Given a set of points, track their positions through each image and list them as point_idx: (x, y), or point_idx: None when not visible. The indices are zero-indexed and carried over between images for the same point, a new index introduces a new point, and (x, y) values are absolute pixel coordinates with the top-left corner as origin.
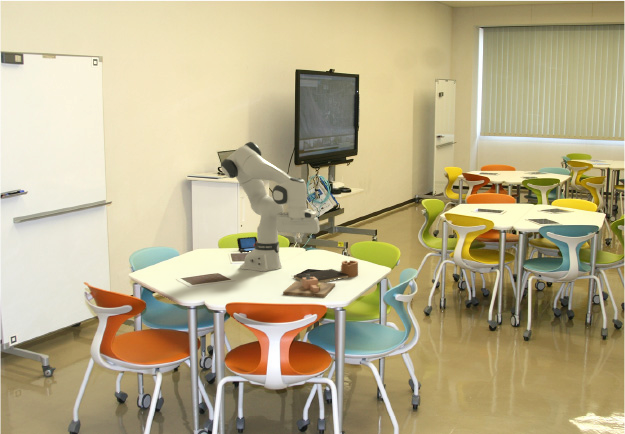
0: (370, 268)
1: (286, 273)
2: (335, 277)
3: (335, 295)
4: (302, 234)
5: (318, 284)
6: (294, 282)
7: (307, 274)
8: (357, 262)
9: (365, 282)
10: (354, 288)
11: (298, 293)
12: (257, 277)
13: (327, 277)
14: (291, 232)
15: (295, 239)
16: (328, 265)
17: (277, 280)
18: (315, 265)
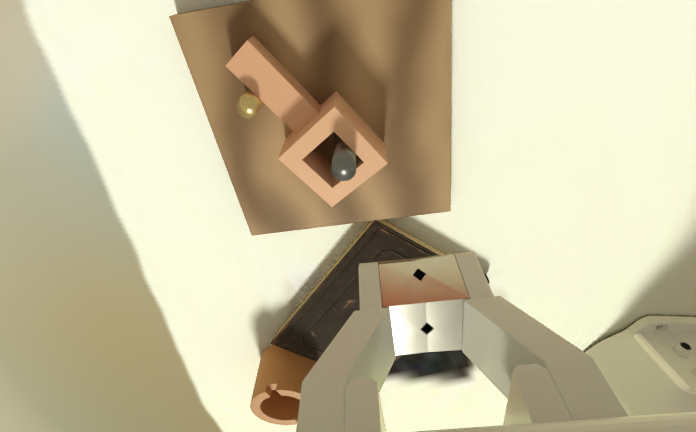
0: (269, 422)
1: (536, 319)
2: (301, 306)
3: (153, 82)
4: (304, 405)
5: (242, 96)
6: (448, 186)
7: (347, 170)
8: (254, 412)
9: (180, 306)
10: (159, 225)
11: None
12: (665, 239)
13: (329, 294)
14: (668, 416)
15: (470, 284)
16: (412, 418)
17: (555, 226)
18: (455, 410)
